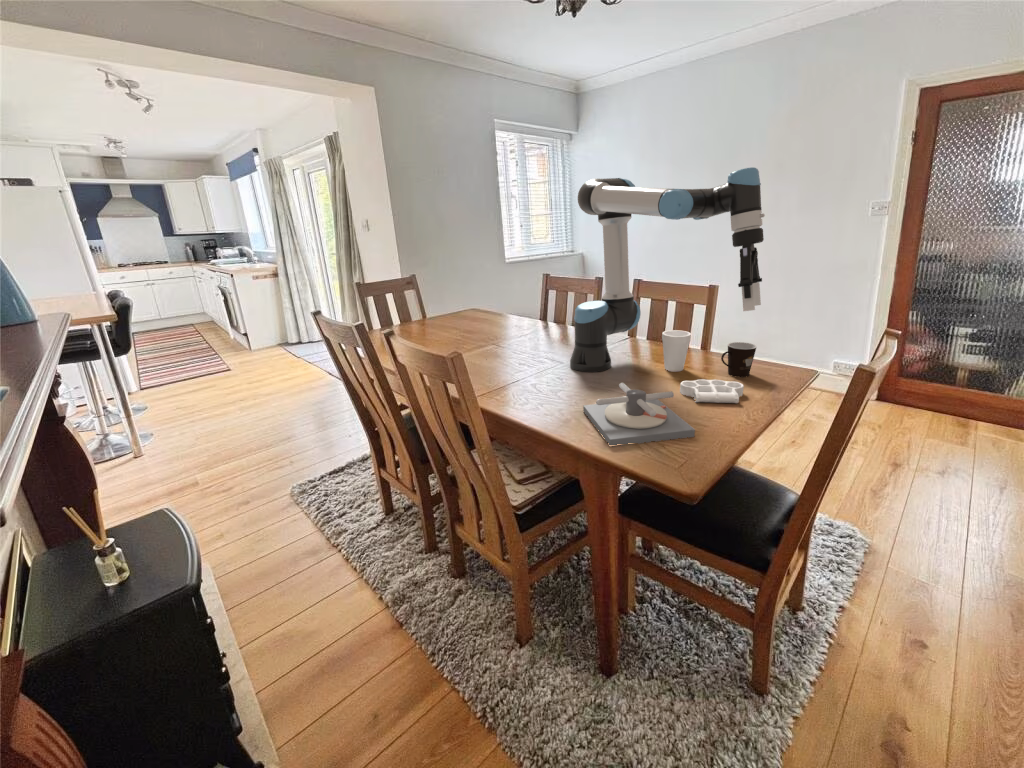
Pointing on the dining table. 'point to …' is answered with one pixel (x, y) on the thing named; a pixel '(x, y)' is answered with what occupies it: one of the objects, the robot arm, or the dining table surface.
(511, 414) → the dining table surface
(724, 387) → the white brass knuckles
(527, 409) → the dining table surface
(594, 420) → the dial board
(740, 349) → the coffee mug
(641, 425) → the capstan
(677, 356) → the foam cup
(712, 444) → the dining table surface
